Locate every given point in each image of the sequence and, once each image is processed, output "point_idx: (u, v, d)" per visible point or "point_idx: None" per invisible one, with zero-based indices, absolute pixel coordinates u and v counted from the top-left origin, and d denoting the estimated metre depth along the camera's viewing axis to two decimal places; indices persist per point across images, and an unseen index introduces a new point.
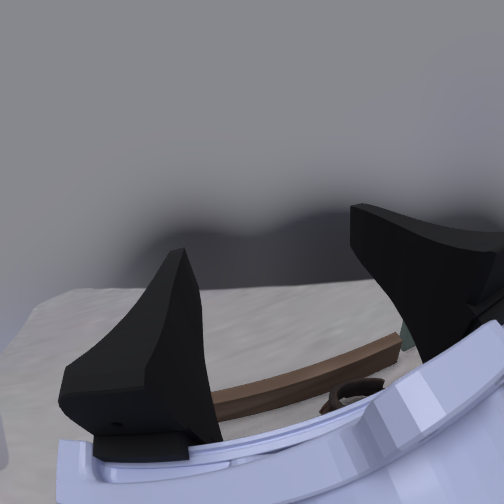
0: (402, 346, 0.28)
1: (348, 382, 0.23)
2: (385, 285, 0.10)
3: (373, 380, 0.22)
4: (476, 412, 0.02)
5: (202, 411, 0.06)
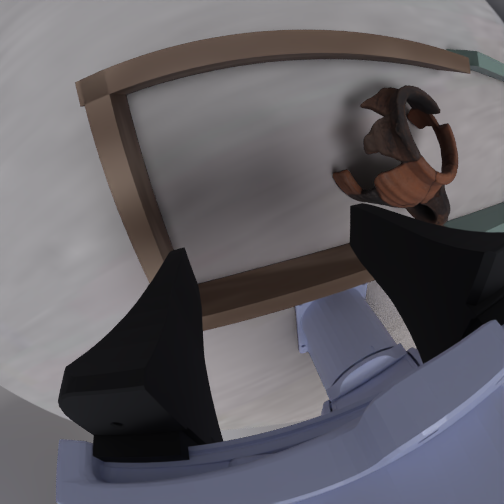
0: None
1: (411, 91, 0.13)
2: (385, 285, 0.10)
3: (431, 102, 0.14)
4: (476, 412, 0.02)
5: (202, 411, 0.06)
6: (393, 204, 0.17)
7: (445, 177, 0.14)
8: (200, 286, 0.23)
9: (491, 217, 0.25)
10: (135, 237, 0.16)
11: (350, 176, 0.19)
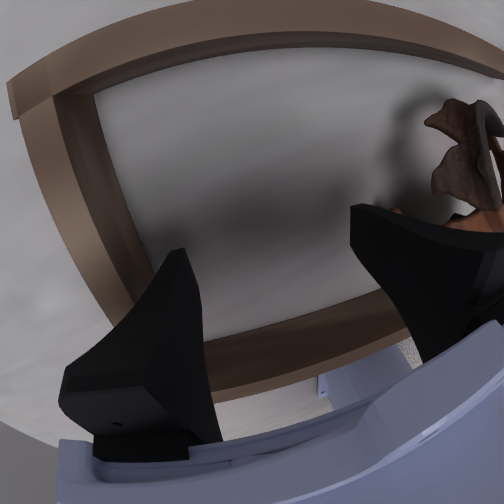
0: None
1: (485, 108, 0.08)
2: (385, 285, 0.10)
3: (500, 123, 0.09)
4: (476, 412, 0.02)
5: (202, 411, 0.06)
6: None
7: None
8: (206, 346, 0.17)
9: None
10: (113, 313, 0.10)
11: None
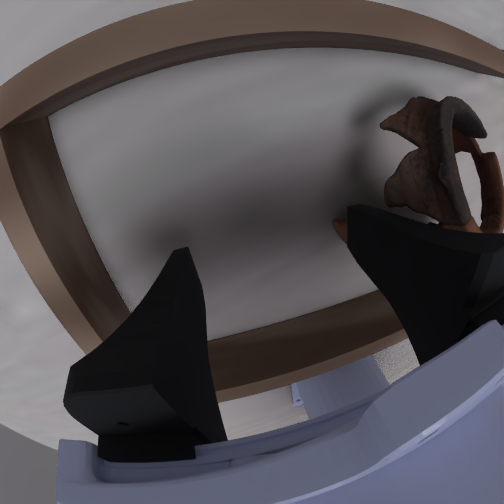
0: None
1: (456, 105, 0.08)
2: (382, 286, 0.10)
3: (477, 122, 0.09)
4: (476, 412, 0.02)
5: (207, 410, 0.06)
6: None
7: None
8: None
9: None
10: (67, 322, 0.10)
11: None
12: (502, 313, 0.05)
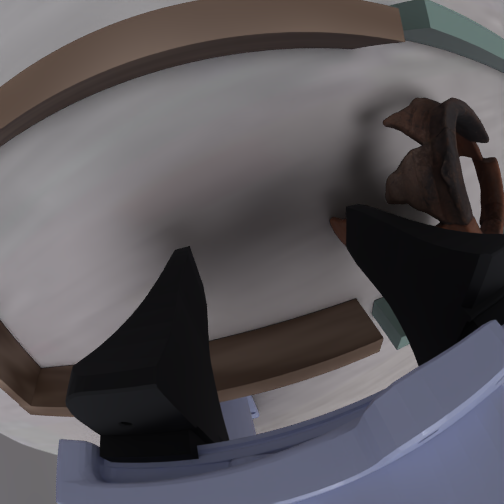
0: None
1: (460, 107, 0.08)
2: (381, 287, 0.10)
3: (480, 126, 0.09)
4: (476, 412, 0.02)
5: (210, 410, 0.06)
6: None
7: None
8: (48, 371, 0.16)
9: None
10: None
11: None
12: (501, 314, 0.05)
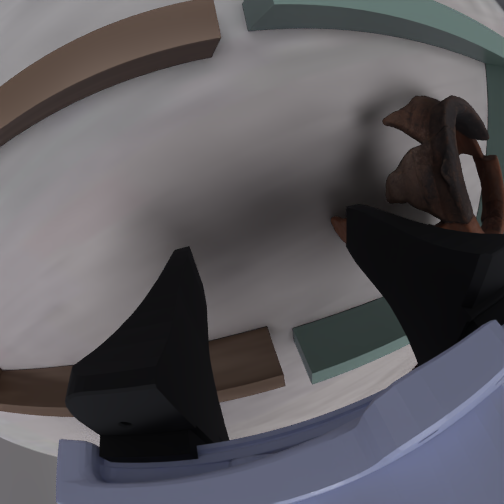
0: (248, 20, 0.08)
1: (459, 105, 0.08)
2: (381, 287, 0.10)
3: (480, 124, 0.09)
4: (476, 412, 0.02)
5: (209, 410, 0.06)
6: None
7: None
8: (6, 373, 0.16)
9: None
10: None
11: None
12: (501, 314, 0.05)
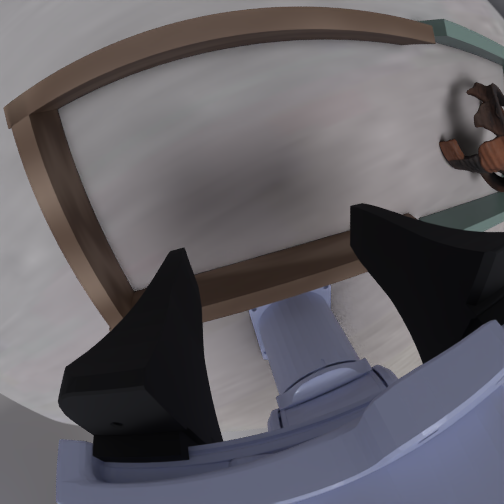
0: None
1: (496, 87, 0.13)
2: (385, 285, 0.10)
3: (503, 98, 0.14)
4: (476, 412, 0.02)
5: (202, 411, 0.06)
6: (486, 168, 0.17)
7: None
8: None
9: (479, 210, 0.23)
10: (64, 246, 0.14)
11: (457, 144, 0.18)
12: None
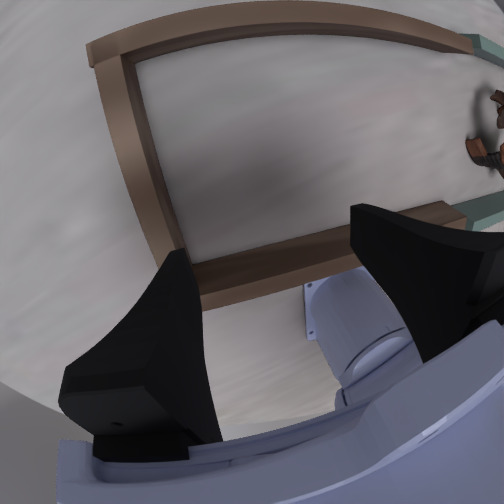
0: None
1: None
2: (385, 285, 0.10)
3: None
4: (476, 412, 0.02)
5: (202, 411, 0.06)
6: None
7: None
8: (205, 264, 0.22)
9: (498, 202, 0.24)
10: (139, 202, 0.15)
11: (481, 142, 0.19)
12: None
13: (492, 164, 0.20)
